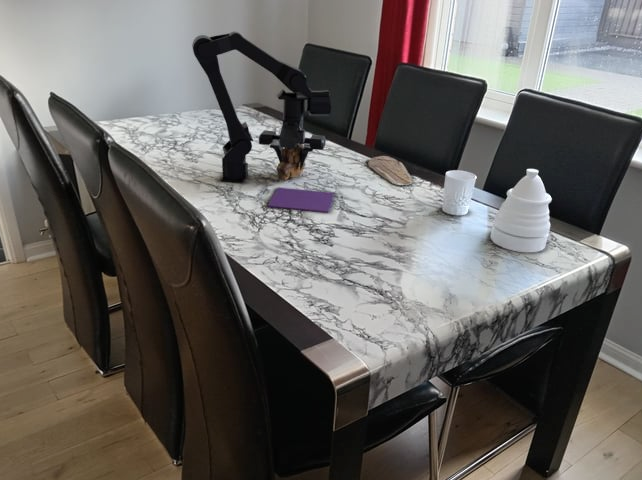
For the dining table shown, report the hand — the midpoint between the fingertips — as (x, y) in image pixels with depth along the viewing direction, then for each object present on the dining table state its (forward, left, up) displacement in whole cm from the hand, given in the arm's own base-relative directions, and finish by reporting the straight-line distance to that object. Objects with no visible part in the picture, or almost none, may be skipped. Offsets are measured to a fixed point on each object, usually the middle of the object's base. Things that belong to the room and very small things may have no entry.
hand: (291, 168), depth 170 cm
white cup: (+47, -15, -3) cm, 50 cm away
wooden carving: (0, 0, -3) cm, 3 cm away
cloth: (+6, -18, -3) cm, 19 cm away
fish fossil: (+29, +14, -3) cm, 33 cm away
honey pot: (+61, -31, -3) cm, 69 cm away
